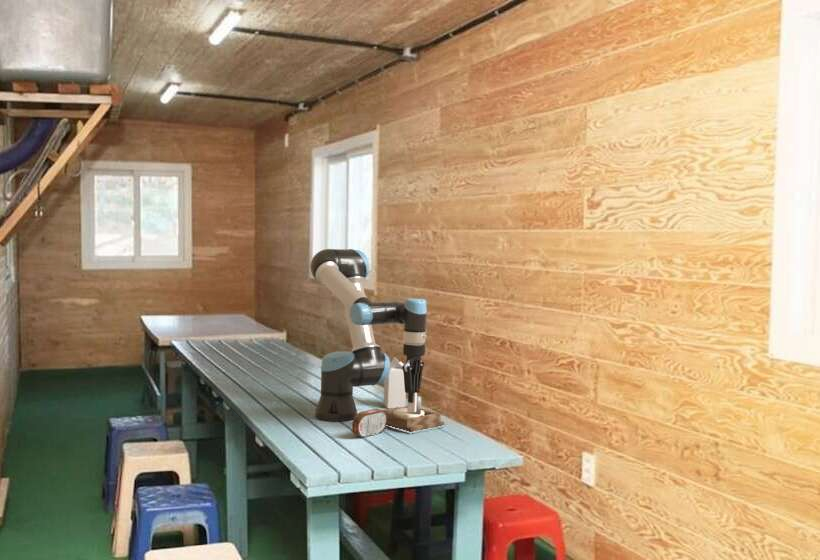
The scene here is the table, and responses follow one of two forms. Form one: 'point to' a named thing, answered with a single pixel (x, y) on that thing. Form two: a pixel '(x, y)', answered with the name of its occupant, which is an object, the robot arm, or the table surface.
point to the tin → (369, 422)
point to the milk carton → (395, 386)
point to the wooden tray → (413, 420)
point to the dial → (406, 414)
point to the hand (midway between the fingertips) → (411, 411)
